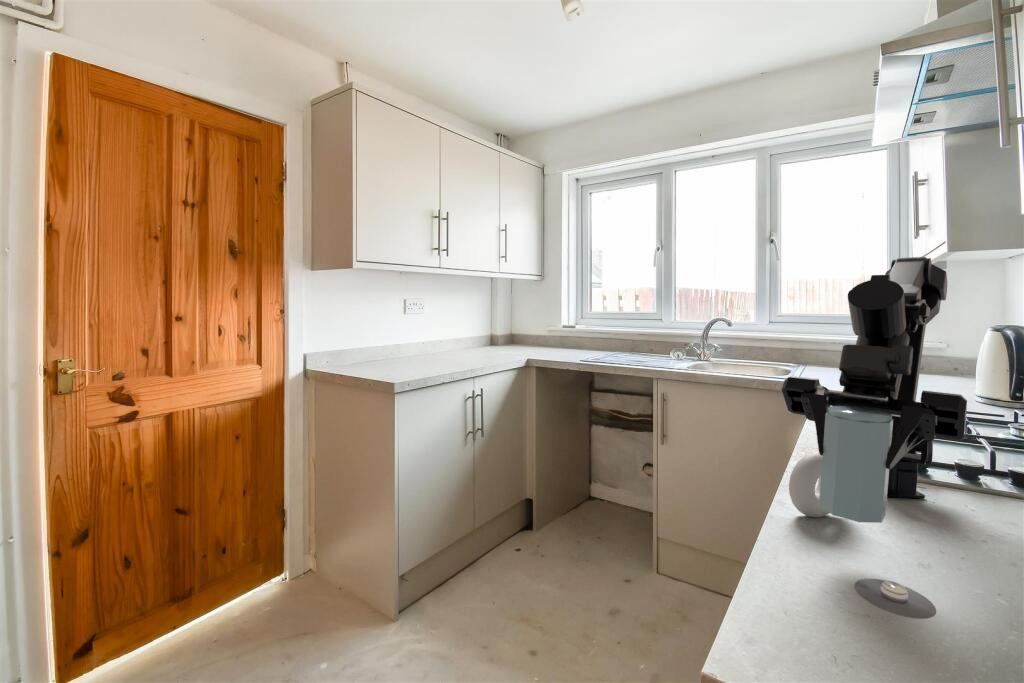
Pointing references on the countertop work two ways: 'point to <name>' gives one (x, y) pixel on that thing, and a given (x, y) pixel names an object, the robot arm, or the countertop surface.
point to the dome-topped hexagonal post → (856, 463)
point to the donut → (807, 485)
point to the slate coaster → (913, 608)
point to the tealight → (894, 592)
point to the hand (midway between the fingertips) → (853, 460)
